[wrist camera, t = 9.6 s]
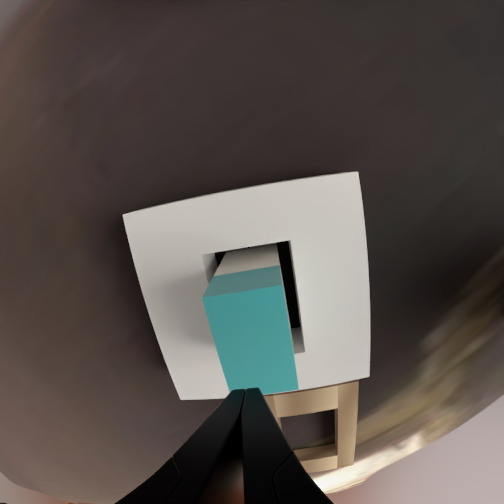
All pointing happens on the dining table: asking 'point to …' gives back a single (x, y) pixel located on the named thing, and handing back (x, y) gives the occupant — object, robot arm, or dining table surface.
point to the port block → (253, 234)
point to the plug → (252, 321)
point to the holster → (317, 400)
